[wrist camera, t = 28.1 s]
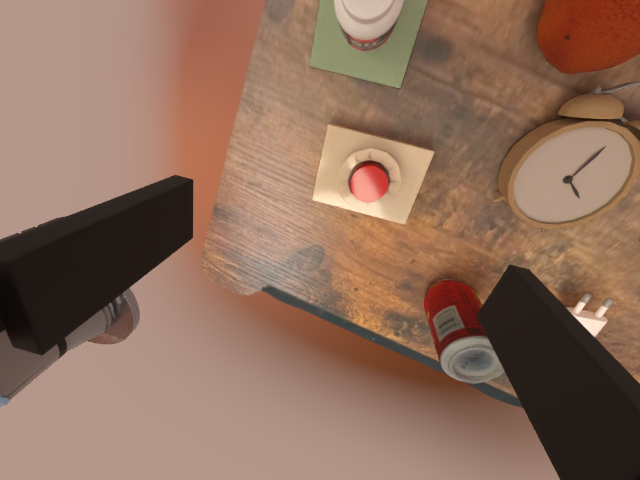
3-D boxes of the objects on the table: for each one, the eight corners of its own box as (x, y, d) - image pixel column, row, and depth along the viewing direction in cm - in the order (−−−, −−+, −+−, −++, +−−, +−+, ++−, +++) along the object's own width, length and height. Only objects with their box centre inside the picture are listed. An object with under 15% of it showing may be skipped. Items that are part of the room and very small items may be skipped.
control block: (314, 194, 37) (308, 205, 33) (330, 122, 32) (325, 125, 29) (403, 218, 36) (407, 231, 33) (430, 148, 32) (438, 154, 29)
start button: (346, 192, 32) (345, 197, 31) (356, 158, 30) (355, 161, 29) (380, 201, 32) (381, 206, 30) (392, 167, 30) (393, 171, 29)
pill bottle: (353, 63, 29) (348, 47, 20) (331, 6, 27) (315, -39, 19) (404, 34, 27) (422, 2, 19) (384, -30, 25) (394, -98, 17)
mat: (309, 66, 30) (308, 65, 30) (331, -59, 26) (330, -62, 25) (399, 88, 30) (400, 88, 29) (438, -34, 25) (439, -37, 25)
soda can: (411, 300, 42) (427, 370, 31) (442, 266, 38) (473, 331, 28) (450, 321, 42) (480, 397, 31) (484, 289, 39) (530, 362, 28)
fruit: (515, -10, 25) (573, -53, 18) (637, -68, 23) (761, -145, 16) (525, 92, 28) (577, 89, 21) (633, 52, 26) (733, 33, 19)
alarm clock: (480, 199, 31) (630, 54, 22) (472, 181, 35) (595, 52, 26) (561, 247, 32) (736, 128, 23) (544, 225, 36) (687, 115, 27)
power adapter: (561, 276, 36) (593, 305, 31) (600, 283, 36) (639, 314, 31) (521, 337, 42) (544, 371, 36) (555, 344, 41) (583, 379, 36)
